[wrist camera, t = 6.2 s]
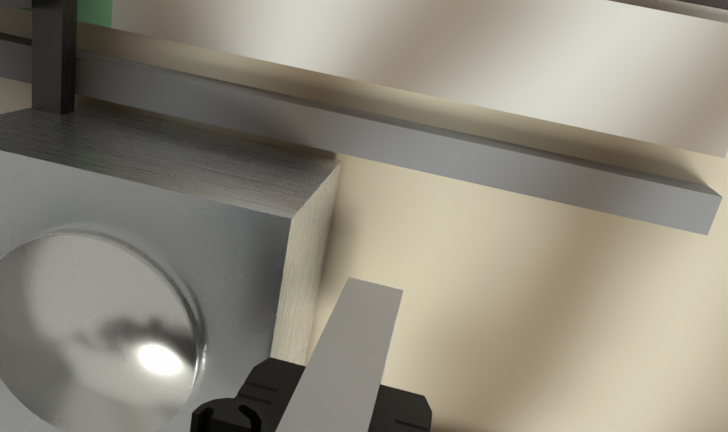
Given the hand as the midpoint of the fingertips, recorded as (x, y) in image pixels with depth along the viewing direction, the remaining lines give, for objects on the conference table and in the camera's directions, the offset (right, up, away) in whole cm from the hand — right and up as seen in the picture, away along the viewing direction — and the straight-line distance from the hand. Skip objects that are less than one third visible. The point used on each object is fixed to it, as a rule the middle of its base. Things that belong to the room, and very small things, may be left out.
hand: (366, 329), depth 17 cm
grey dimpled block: (-5, +4, +1) cm, 7 cm away
